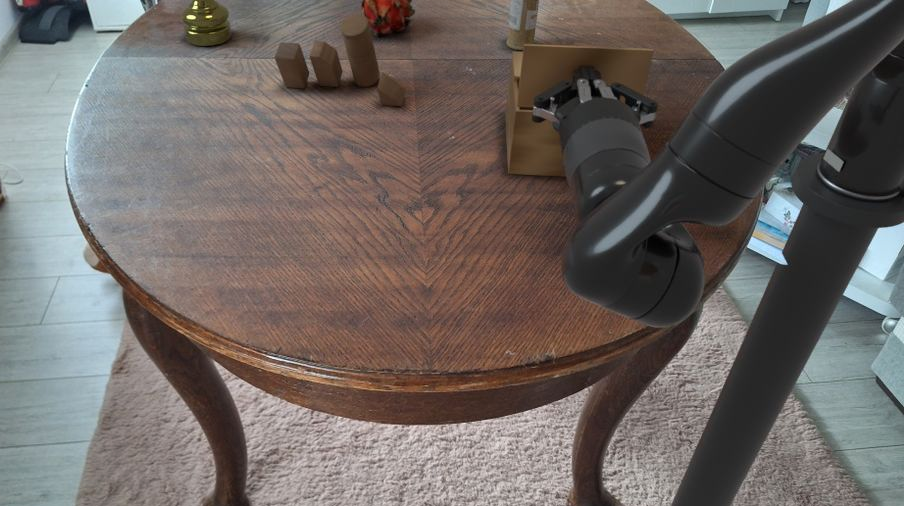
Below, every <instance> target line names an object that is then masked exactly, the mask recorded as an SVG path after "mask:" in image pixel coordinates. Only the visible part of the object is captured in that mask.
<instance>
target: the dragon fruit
mask: <svg viewBox="0 0 904 506" xmlns="http://www.w3.org/2000/svg"><path fill="white" fill-rule="evenodd" d="M412 1H413V0H362V1H361V4H360V10H361V12H362V15H364V16H365V17H366V18H367V19H368V22H369V27H371V28H370V29H371V30H372V32H373V34H374V35H375V36H376V37H380V36H382V35H383V36H384V35H385V34H389V35H391V34H392V33H393V32H394V31H395V32H396V33H400V32H402V31H403V30H404V29H405V28H406V27H409V26H410V24H411V23H412V21H413V19H412V17H413V16H414V15H415V13H416V10H415V9H414V8H413V7H414V6H413V5H412V4H411V3H412Z"/></svg>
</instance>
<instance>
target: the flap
mask: <svg viewBox="0 0 904 506" xmlns="http://www.w3.org/2000/svg"><path fill="white" fill-rule="evenodd" d="M522 52H523V56H522V64H521V73H520V81H519V90H518V98H517V107H533V105H534V98H535V97H536V96H538V95H539V94H541V93H543V92H544V91H546V90H548V89H549V88H551V87H553V86H555V85H556V84H558V83H560V82H561V81H570V82H572V80H573V74H574V71H575V70H579V67H580V66H594V70H595V71H599V72H600V74H601V78H602V80H603V81H605V83H606V85H608V86H611V84H612V83H620V84H622V85H624V86H626V87H628V88H630V89H632V90H634V91H636V92H638V93H640V94H642V95H644V94H645V91H646V86H647V83H648V78H649V74H650V70H651V66H652V62H653V58H654V54H655V49H654V48H636V47H613V46H612V47H609V46H589V45H588V46H587V45H586V46H585V45H584V46H583V45H560V44H536V43H534V44H524V48H523V50H522ZM644 96H645V95H644ZM620 101H622V102H623V103H625V98H624V97H623V96H621V98H620Z"/></svg>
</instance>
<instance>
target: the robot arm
mask: <svg viewBox="0 0 904 506" xmlns="http://www.w3.org/2000/svg"><path fill="white" fill-rule="evenodd" d="M849 92H850V94H849V96H848V98H847V101H846V103H845V106H844V107H843V110H842V112H841V115H840V116H839V120H838V122H837V124H836V126H835V128H834V130H833V133H832V135H831V137H830V140H829V142H828V144H827V147H826V148H825V151H824V152H825V153H824V152H823V153H824V155H823V157H822V159H821V161H820V163H819V165H818V167H817V169H816V175H817V178H818V179H819V181H820V182H821V183H822V184H823V185H825V186H826V187H827V188H829V189H830V190H832V191H834V192H836V193H838V194H840V195H842V196H845V197H848V198H851V199H855V200H859V201H865V202H885V201H890V200H892V199H894V198H896V197H904V0H850V1H848V2H847V3H845V4H843V5H842V6H840V7H838V8H836V9H835V10H833V11H830V12H829V13H827V14H825V15H822V16H821V17H819V18H816V19H815V20H813V21H811V22H809V23H807V24H805V25H803V26H801V27H799V28H796V29H794V30H792V31H790V32H787V33H785V34H783V35H782V36H779V37H778V38H777V37H776V38H775V39H773V40H771V41H769V42H768V43H765V44H763V45H762V46H760V47H757V48H756V49H753V50H752V51H750V52H749V53H747V54H745V55H743V56H742V57H741V58H739V59H737V60H736V61H734V62H733V63H732V64H731V65H729V66H728V67H726V69H724V71H722V72H721V73H719V75H718V76H716V78H714V79H713V81H712V82H711V83H710V84H709V85H708V86H707V87H706V88H705V90H704V91H703V92H702V93H701V94H700V96H698V98H697V100H696V101H695V102H694V104H693V105H692V107H691V109H690V110H689V111H688V112H687V114H686V115H685V116H684V118H683V119H682V121H681V122H680V123H679V125H678V126H677V127H676V129H675V130H674V132H673V133H672V135H671V136H670V137H669V139H668V141H667V142H666V143H665V144H664V145H663V147H662V148H661V150H660V151H659V153H657V155H656V156H655V157H654V158H653V159H652V160H651V155H650V151H649V148H648V145H647V143H646V139H645V136H644V133H643V130H642V127H643V128H646V129H651V128H653V127H654V124H655V120H656V116H657V112H658V108H659V102H657V101H655V100H653V99H652V98H649V97H648V96H646V95H642V94H640V93H638V92H636V91H634V90H632V89H630V88H628V87H626V86H624V85H622V84H620V83H612V84H611V86H608V85H606V83H605V81H603V80H602V78H601V74H600V72H599V71H595V70H594V66H580V67H579V70H575V71H574V74H573V80H572V82H570V81H561V82H560V83H558V84H556V85H555V86H553V87H551V88H549V89H548V90H546V91H544V92H543V93H541V94H539V95H538V96H536V97H535V98H534V105H533V111H532V121H533V122H535V123H541V122H543V121H545V120H546V119H547V120H549V121H552V122H553V123H552V125H553V128H554V129H555V130H556V131H557V132H558V133H559V137H560V143H561V149H562V155H563V169H564V172H565V174H566V177H565V179H566V182H567V185H568V187H569V190H570V193H571V198H572V204H573V209H574V210H573V211H574V215H575V219H576V222H577V225H576V227H575V228H574V230H573V231H572V232H571V233H570V235H569V236H568V238H567V240H566V242H565V245H564V247H563V250H562V253H561V258H560V259H561V260H560V272H561V273H560V274H561V279H562V280H563V283H564V285H565V286H566V288H567V289H568V290H569V291H570V292H571V293H572V294H573V295H575V296H577V297H578V298H580V299H582V300H585V301H587V302H589V303H591V304H593V305H597V306H598V307H601V308H604V309H605V310H608V311H611V312H613V313H615V314H617V315H619V316H622V317H624V318H627V319H629V320H631V321H634V322H636V323H638V324H641V325H643V326H647V327H651V328H669V327H672V326H675V325H679V324H680V323H682V322H684V321H685V320H686V319H687V318H689V317H690V316H691V314H693V312H694V311H695V310H696V309H697V307H698V305H699V303H700V302H701V300H702V297H703V294H704V291H705V285H706V267H705V262H704V258H703V255H702V252H701V250H700V248H699V245H698V244H697V241H696V240H695V238H694V237H693V236H692V234H691V233H690V231H689V230H688V229H687V228H686V226H685V225H684V223H686V224H687V223H688V224H695V225H700V226H706V227H713V228H714V227H717V228H718V227H724V226H728V225H730V224H731V223H733V222H734V221H736V220H737V219H738V218H739V217H740V215H742V213H743V212H744V211H745V210H746V209H747V208H748V207H749V206H750V205H751V203H752V202H753V201H754V200H755V198H756V197H757V196H758V195H759V194H760V192H761V191H762V190H763V189H764V188H765V187H766V185H767V184H768V183H769V182H770V181H771V180H772V178H773V177H774V176H775V174H776V173H777V172H778V171H779V169H780V168H781V167H782V166H783V165H784V164H785V162H786V161H787V160H788V159H789V157H790V156H791V155H792V154H793V153H794V152H795V151H796V149H797V148H798V147H799V146H800V145H801V143H802V142H803V141H804V140H805V138H806V137H807V136H808V135H809V134H810V133H811V132H812V131H813V130H814V128H815V127H817V125H818V124H819V123H820V122H821V121H822V120H823V119H824V118H825V117H826V116H827V114H828V113H829V112H830V111H831V110H832V109H833V108H834V107H835V106H836V105H837V104H838V103H840V101H841V100H842V99H843V98H844V97H845V96H846V95H847V94H848V93H849ZM621 96H623V97H624V98H625V103H623V102H622V101H620V98H621Z"/></svg>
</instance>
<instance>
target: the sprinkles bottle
mask: <svg viewBox="0 0 904 506" xmlns="http://www.w3.org/2000/svg"><path fill="white" fill-rule="evenodd" d="M539 4H540V0H510V8H509V18H508V33H507V34H508V35H507V40H506V46H507V47H508V48H510V49H512V50H515V51H523V48H524V44H535V36H536V35H535V34H536V27H537V23H538V12H539Z"/></svg>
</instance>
